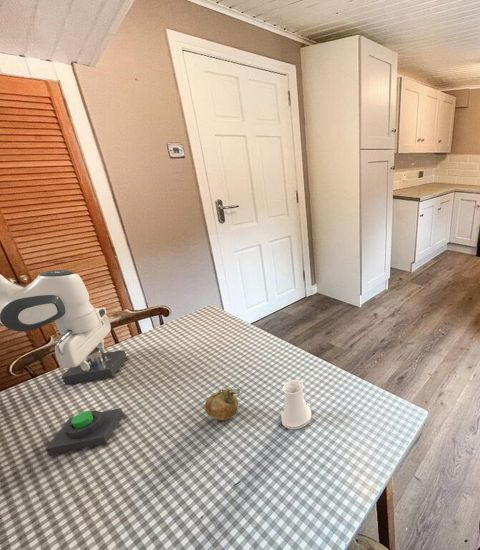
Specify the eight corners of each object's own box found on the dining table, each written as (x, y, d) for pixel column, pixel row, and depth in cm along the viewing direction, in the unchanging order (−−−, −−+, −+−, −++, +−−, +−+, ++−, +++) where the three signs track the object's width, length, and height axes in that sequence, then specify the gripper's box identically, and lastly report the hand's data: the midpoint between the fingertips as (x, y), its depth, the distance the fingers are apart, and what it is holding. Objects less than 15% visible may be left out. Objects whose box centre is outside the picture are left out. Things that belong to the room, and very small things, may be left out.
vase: (317, 412, 79) (314, 382, 76) (298, 434, 73) (294, 402, 69) (295, 402, 83) (291, 372, 79) (275, 422, 76) (270, 391, 73)
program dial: (99, 365, 93) (94, 353, 91) (82, 368, 91) (77, 356, 90) (106, 356, 96) (102, 345, 95) (90, 359, 95) (85, 347, 94)
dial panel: (65, 384, 89) (61, 376, 88) (84, 363, 98) (80, 355, 97) (112, 377, 92) (109, 368, 91) (127, 357, 101) (124, 349, 100)
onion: (223, 400, 83) (217, 377, 80) (247, 408, 81) (242, 384, 78) (201, 421, 77) (194, 397, 74) (226, 430, 74) (220, 405, 71)
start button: (70, 430, 70) (67, 424, 69) (79, 418, 73) (76, 412, 73) (88, 426, 71) (86, 421, 70) (96, 415, 74) (94, 409, 74)
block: (49, 455, 68) (41, 443, 67) (72, 424, 76) (66, 412, 75) (106, 443, 71) (100, 431, 69) (123, 414, 79) (118, 402, 77)
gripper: (69, 340, 80) (87, 381, 85) (108, 305, 98) (121, 341, 104) (40, 344, 79) (60, 385, 84) (85, 307, 97) (99, 344, 102)
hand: (94, 360), depth 94 cm, fingers open, 6 cm apart
